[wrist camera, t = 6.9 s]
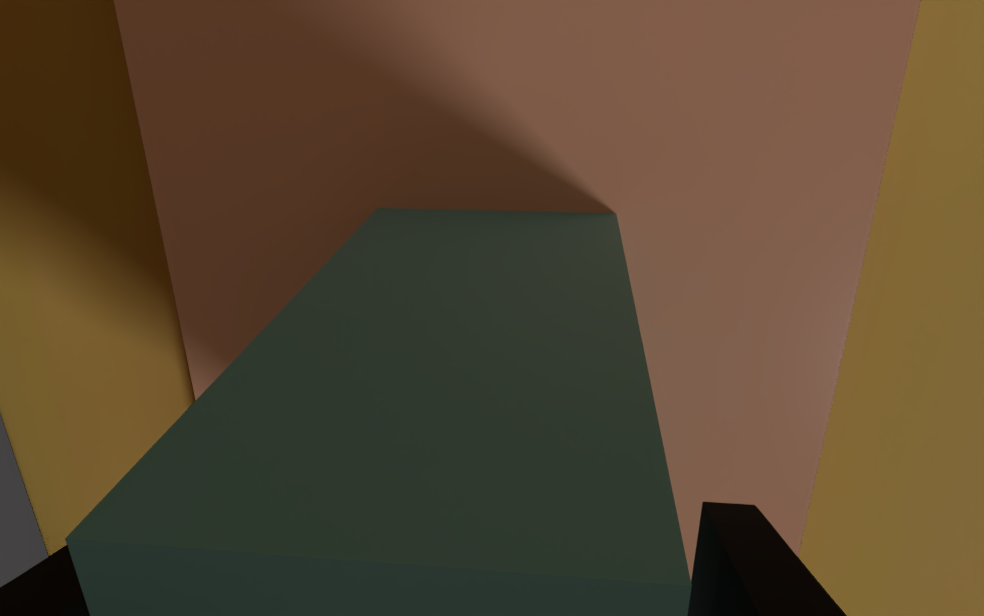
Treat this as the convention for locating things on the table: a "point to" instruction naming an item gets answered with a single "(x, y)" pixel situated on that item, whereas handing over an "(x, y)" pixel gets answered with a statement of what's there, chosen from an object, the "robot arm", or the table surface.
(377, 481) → the teal block
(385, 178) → the terracotta tile
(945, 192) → the table surface
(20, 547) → the pocket board
